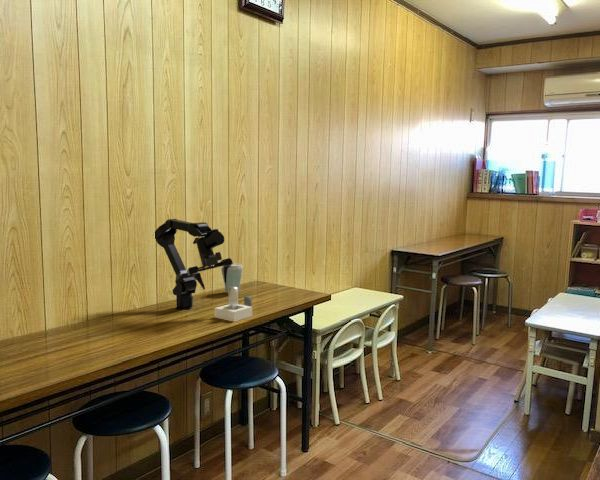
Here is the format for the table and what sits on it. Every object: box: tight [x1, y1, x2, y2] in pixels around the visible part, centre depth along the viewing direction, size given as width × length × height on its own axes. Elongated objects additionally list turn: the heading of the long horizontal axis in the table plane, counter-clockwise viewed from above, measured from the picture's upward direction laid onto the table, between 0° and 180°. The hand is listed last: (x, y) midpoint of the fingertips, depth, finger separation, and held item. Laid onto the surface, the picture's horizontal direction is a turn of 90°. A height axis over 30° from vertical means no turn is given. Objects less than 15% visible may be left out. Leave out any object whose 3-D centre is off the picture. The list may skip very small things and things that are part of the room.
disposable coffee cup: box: [223, 262, 244, 294], centre depth 267 cm, size 11×11×15 cm
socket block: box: [214, 303, 253, 322], centre depth 221 cm, size 11×11×4 cm
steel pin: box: [227, 286, 239, 310], centre depth 221 cm, size 4×4×12 cm
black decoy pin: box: [243, 295, 253, 308], centre depth 232 cm, size 3×3×6 cm
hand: (215, 286), depth 223 cm, fingers open, 9 cm apart
